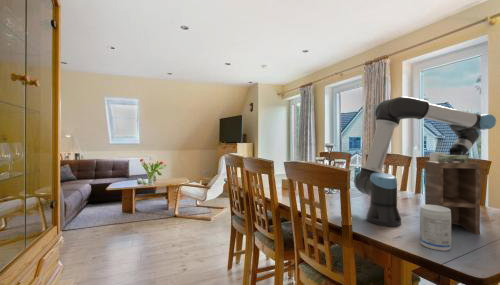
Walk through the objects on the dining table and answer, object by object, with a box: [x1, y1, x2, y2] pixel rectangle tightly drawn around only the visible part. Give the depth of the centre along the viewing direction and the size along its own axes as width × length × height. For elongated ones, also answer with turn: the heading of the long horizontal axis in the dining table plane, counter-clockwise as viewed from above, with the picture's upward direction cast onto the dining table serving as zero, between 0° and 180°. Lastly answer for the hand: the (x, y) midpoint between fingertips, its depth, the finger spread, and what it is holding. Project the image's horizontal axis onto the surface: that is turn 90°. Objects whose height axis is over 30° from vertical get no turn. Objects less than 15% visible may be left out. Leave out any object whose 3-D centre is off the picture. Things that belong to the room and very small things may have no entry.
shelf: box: [424, 154, 481, 235], centre depth 114 cm, size 15×14×33 cm
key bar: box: [429, 152, 455, 162], centre depth 121 cm, size 4×18×4 cm, turn 166°
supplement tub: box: [419, 204, 452, 252], centre depth 94 cm, size 10×10×15 cm
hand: (441, 175), depth 131 cm, fingers open, 13 cm apart
